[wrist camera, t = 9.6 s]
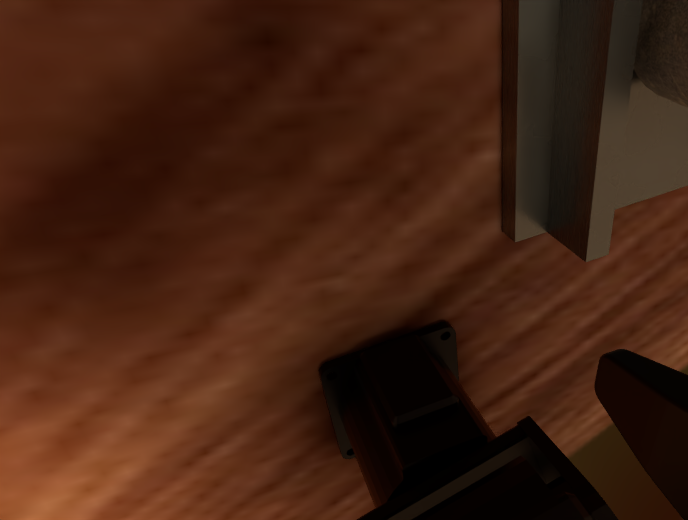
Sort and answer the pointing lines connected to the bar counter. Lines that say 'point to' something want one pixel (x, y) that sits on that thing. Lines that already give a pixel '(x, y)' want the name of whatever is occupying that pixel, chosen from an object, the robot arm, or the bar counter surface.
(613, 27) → the pipe cradle
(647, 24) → the pipe
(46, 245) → the bar counter surface
